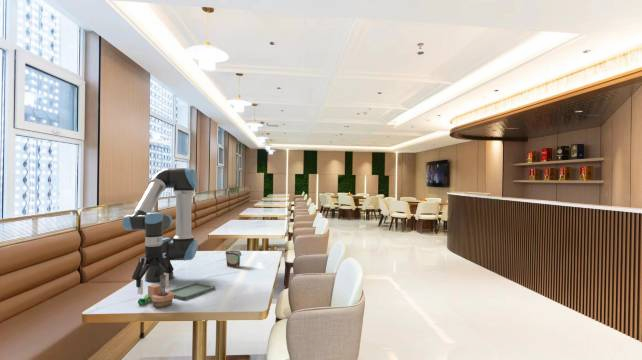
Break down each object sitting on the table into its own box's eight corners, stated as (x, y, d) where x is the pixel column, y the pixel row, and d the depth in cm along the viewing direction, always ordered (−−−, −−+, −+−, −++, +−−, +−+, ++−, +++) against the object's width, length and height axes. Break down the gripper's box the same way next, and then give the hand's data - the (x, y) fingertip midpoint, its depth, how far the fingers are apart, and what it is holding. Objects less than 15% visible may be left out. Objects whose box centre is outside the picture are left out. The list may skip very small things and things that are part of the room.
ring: (160, 303, 159) (160, 292, 159) (142, 298, 166) (142, 287, 166) (177, 297, 167) (177, 286, 167) (159, 292, 173) (159, 282, 173)
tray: (184, 300, 171) (184, 297, 171) (163, 295, 179) (163, 292, 179) (215, 289, 189) (215, 286, 189) (195, 284, 196) (195, 281, 196)
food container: (245, 266, 236) (245, 251, 235) (238, 268, 230) (238, 253, 230) (232, 264, 242) (232, 249, 242) (225, 266, 237) (225, 251, 237)
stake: (149, 306, 164) (149, 276, 163) (164, 300, 171) (164, 272, 170) (160, 309, 160) (160, 279, 160) (175, 303, 167) (175, 275, 166)
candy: (150, 295, 177) (155, 288, 177) (156, 299, 177) (160, 292, 176) (136, 303, 165) (140, 296, 165) (142, 308, 165) (146, 300, 164)
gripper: (133, 250, 155) (133, 298, 155) (181, 242, 177) (181, 284, 177) (123, 248, 159) (123, 296, 159) (171, 240, 181) (171, 282, 181)
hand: (153, 290), depth 168 cm, fingers open, 13 cm apart
